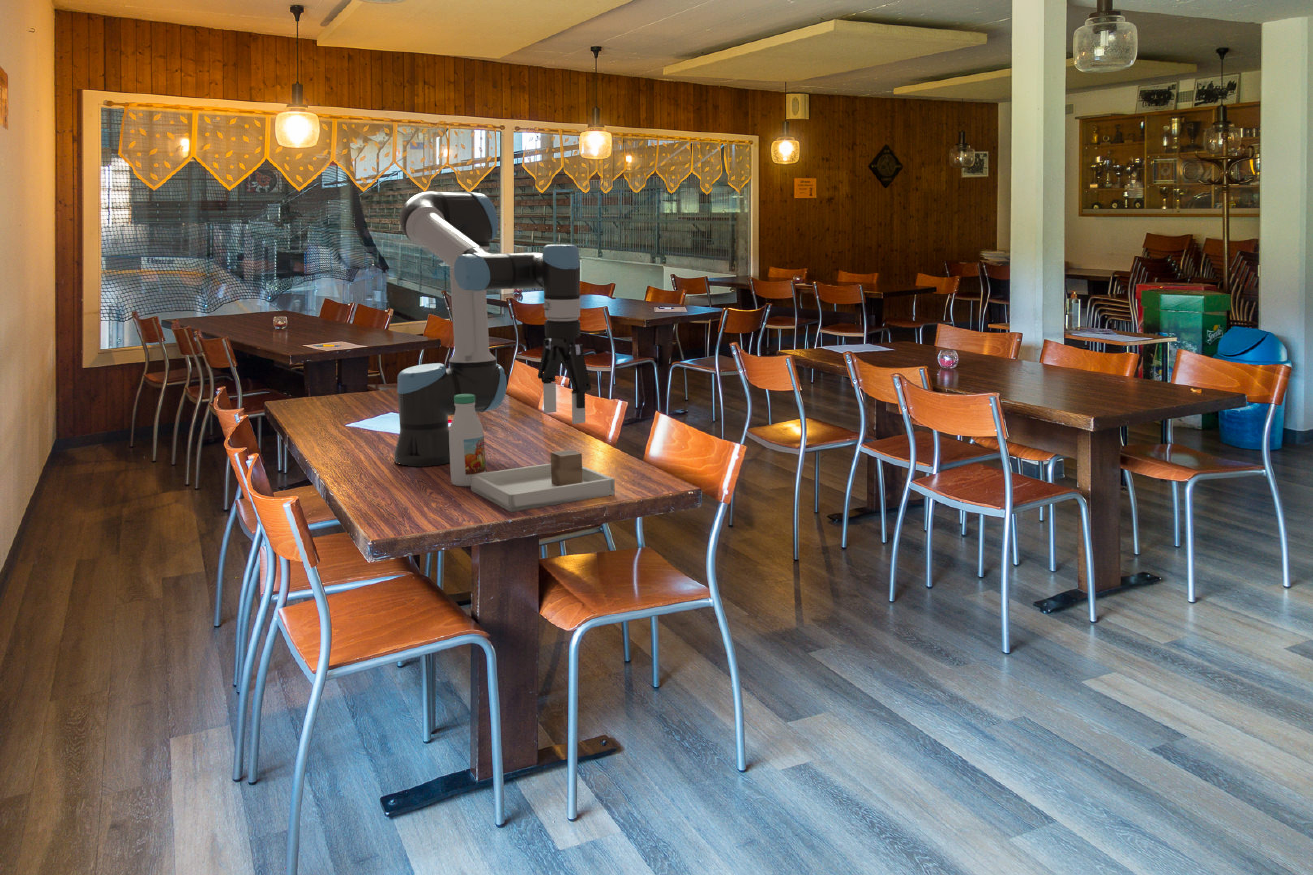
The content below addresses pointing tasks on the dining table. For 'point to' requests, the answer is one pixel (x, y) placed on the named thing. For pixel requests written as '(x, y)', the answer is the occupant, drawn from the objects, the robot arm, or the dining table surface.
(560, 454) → the walnut block
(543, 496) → the tray
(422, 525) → the dining table surface
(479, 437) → the milk bottle
